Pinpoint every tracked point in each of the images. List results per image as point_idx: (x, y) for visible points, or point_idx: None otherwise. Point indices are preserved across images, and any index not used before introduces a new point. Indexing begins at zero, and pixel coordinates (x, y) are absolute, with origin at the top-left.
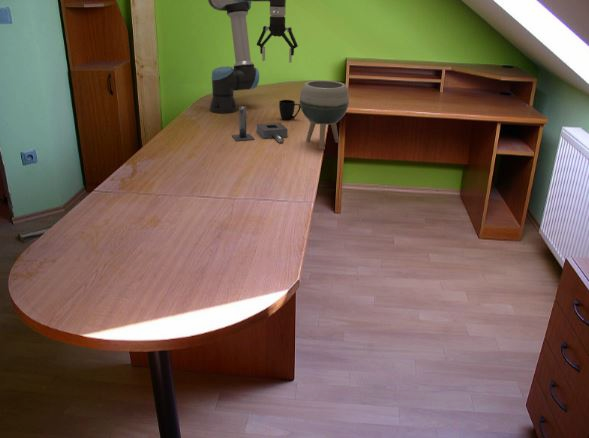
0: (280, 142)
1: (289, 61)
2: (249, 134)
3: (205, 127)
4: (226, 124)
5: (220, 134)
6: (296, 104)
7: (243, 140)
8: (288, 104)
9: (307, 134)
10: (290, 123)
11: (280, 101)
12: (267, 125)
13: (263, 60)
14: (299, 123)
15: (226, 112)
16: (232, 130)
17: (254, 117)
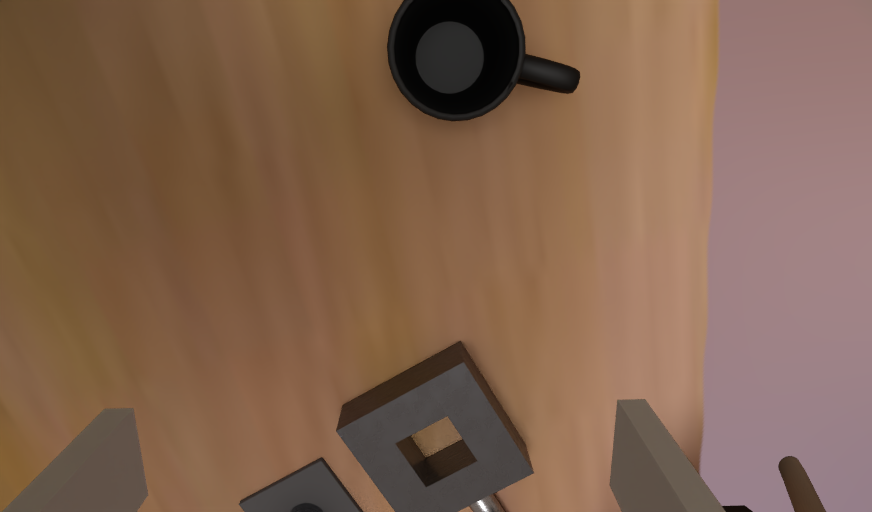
0: None
1: (622, 498)
2: (325, 474)
3: (33, 399)
4: (115, 308)
5: (175, 492)
6: (545, 83)
7: None
8: (480, 115)
9: None
10: (496, 169)
11: (395, 45)
12: (406, 437)
13: (138, 502)
14: (555, 151)
15: None
16: (203, 411)
17: (217, 84)
